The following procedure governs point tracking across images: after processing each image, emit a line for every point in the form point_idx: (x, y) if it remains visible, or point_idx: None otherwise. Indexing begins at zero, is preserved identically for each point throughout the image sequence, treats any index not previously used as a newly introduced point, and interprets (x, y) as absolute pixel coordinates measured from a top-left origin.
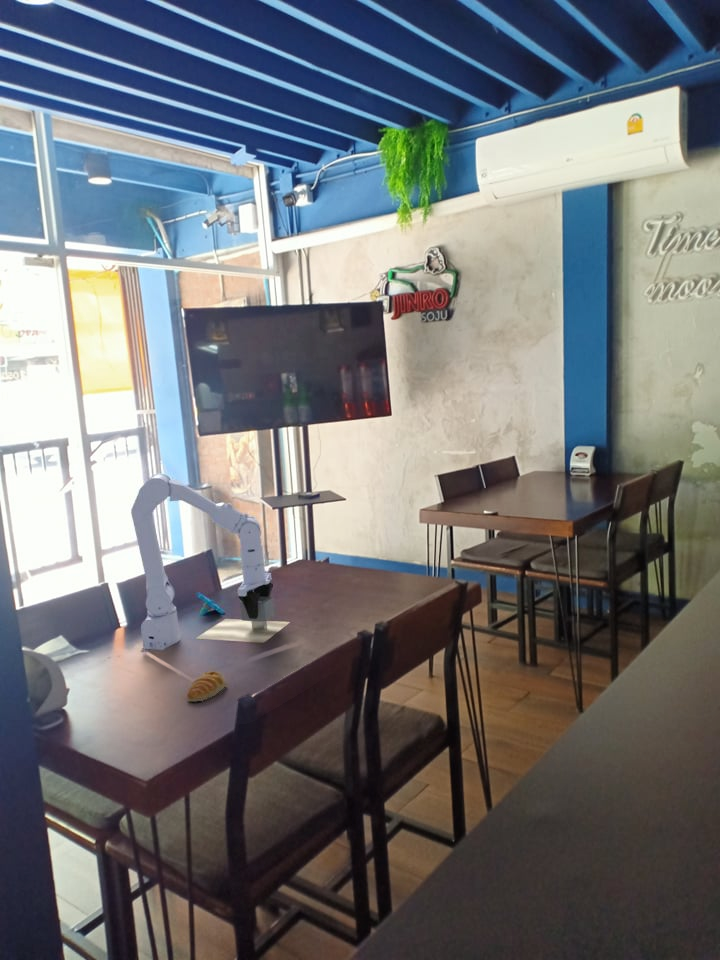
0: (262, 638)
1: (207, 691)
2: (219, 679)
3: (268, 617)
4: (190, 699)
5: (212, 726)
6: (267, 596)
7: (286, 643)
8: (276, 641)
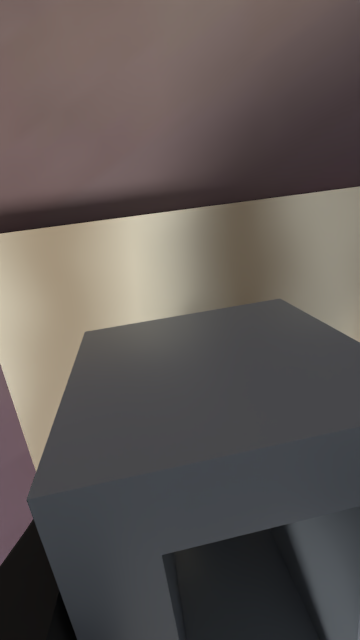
0: (348, 240)
1: None
2: None
3: (233, 315)
4: None
5: None
6: (54, 619)
7: (326, 30)
8: (301, 147)
